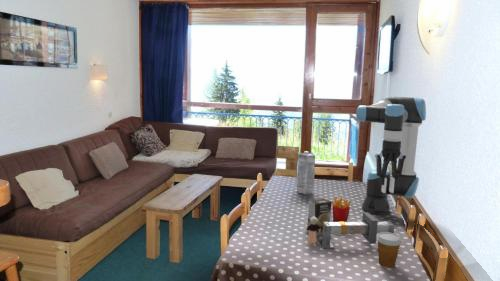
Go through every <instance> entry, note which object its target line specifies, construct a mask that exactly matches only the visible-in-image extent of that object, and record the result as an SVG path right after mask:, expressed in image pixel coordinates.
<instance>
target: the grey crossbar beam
mask: <svg viewBox="0 0 500 281" xmlns="http://www.w3.org/2000/svg"><path fill="white" fill-rule="evenodd" d="M369 225H370V224H369V223H368V222H362V221H347V222H333V221H330V222H323V235H322V237H321V238H322V239H318V240H317V242H319V243H318V244H319V245H320V247H321V248H322V250H335V246H334V245H333V244H332V242H331V239H332V238H331V236H332V235H343V236H346V235H361V234H369ZM381 232H390V233H394V234H395V224H394V223H392V222H391V221H389V220H388V221H387V220H385V221H378V225H377V235H378V234H379V233H381Z"/></svg>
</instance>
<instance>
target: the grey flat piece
mask: <svg viewBox="0 0 500 281" xmlns="http://www.w3.org/2000/svg"><path fill="white" fill-rule="evenodd" d="M361 220H362V221H361V222H368V223H369V224H370V225H369V234H360V235H361V236H362V237H363V238H364V239H365V240H366V242H368V243H369V244H374V245H376V244H377V236H378V234H377V225H378V222H379V220H378V219H376V218H375V217H374V216H373V215H372V213H369V212H366V211H364V212H362V218H361Z"/></svg>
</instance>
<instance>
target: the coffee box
mask: <svg viewBox="0 0 500 281" xmlns="http://www.w3.org/2000/svg"><path fill="white" fill-rule="evenodd" d="M331 201H332V200H329V199H326V198H316V199H310V200H309V199H308V211H307V225H306V228H307V227H308V226H309V225H310V224H312V223H311V221H310V219H311V217H316V218H317V219H318V221H317V223H316V224H317V225H319V226H320V230H321V232H319V230H318V229H317V233H316V237H320V236H323V222H331V216H332V214H331V212H332V202H331ZM309 231H310V230H308V232H307V234H309Z"/></svg>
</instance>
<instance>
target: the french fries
mask: <svg viewBox="0 0 500 281" xmlns="http://www.w3.org/2000/svg"><path fill="white" fill-rule="evenodd" d="M330 201H331V202H332V203H331V210H332V222H348V219H349V214H350V209H351V206H350V205H351V204H352V201H351V200H350V201H349V199H345V198H344V197H343V196H341V197H339V198H338V196H334V200H330ZM342 201H343V202H342Z"/></svg>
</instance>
